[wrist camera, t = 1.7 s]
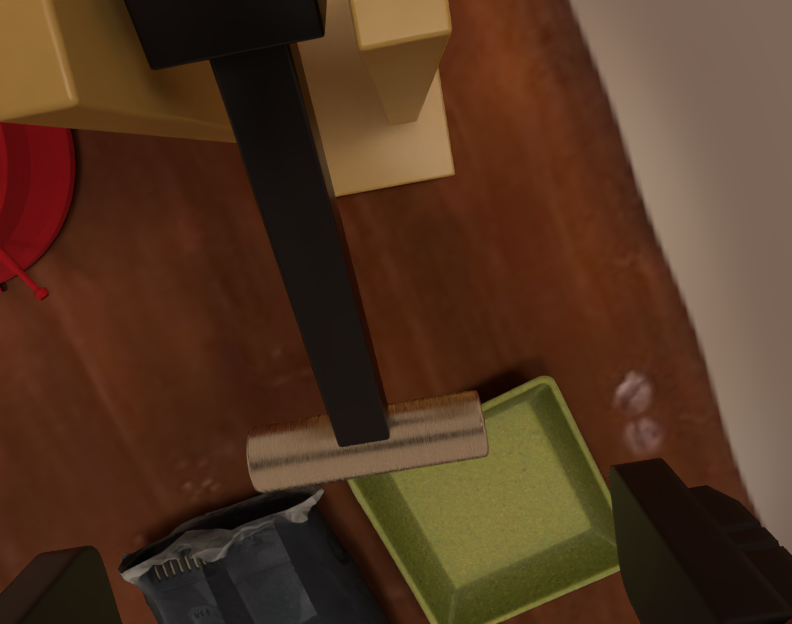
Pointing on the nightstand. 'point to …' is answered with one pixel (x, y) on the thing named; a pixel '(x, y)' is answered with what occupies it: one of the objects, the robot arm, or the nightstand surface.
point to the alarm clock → (32, 194)
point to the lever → (305, 248)
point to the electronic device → (254, 567)
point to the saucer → (499, 515)
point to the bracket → (200, 97)
